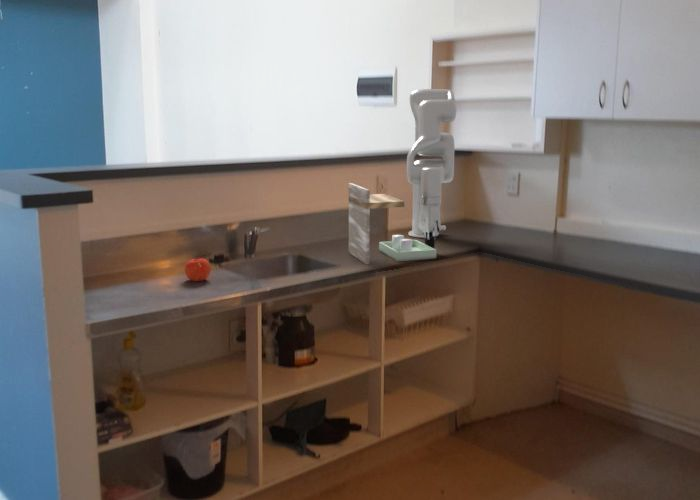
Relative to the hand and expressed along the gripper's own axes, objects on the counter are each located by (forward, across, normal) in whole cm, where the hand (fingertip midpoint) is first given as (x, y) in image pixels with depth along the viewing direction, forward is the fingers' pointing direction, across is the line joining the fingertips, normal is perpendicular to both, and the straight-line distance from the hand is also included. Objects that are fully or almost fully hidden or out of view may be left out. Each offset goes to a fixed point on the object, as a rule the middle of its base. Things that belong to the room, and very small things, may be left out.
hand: (429, 249), depth 265 cm
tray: (+1, 0, -9) cm, 9 cm away
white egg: (0, +4, -11) cm, 12 cm away
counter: (+1, 0, -22) cm, 22 cm away
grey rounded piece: (0, -4, -11) cm, 12 cm away
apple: (+2, +13, -87) cm, 88 cm away
